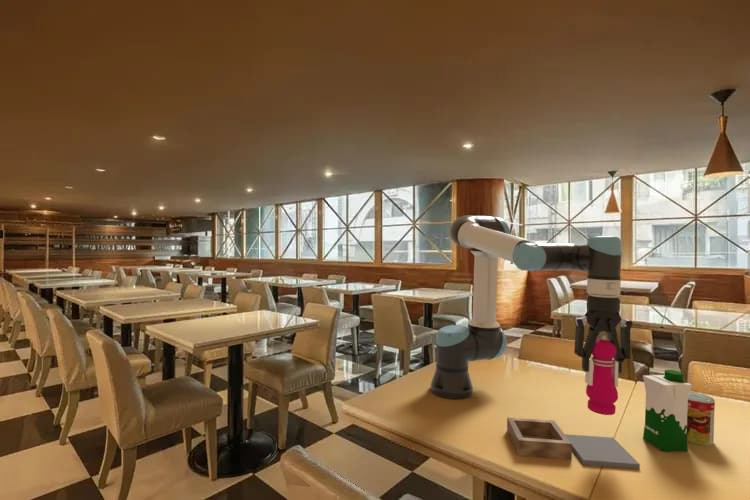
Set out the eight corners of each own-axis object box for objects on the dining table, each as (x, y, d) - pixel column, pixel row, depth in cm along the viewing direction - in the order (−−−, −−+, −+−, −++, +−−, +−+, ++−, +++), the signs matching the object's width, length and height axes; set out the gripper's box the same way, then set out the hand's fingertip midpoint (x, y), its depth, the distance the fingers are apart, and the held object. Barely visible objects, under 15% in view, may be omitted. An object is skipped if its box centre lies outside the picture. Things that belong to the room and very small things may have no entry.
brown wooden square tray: (518, 455, 99) (518, 440, 99) (506, 431, 112) (507, 417, 112) (571, 459, 98) (572, 443, 97) (553, 434, 110) (554, 420, 110)
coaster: (583, 464, 95) (583, 459, 95) (563, 438, 108) (563, 434, 108) (639, 469, 94) (639, 464, 94) (612, 441, 107) (613, 437, 107)
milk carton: (694, 452, 102) (696, 377, 101) (662, 453, 101) (664, 378, 101) (666, 436, 110) (668, 366, 110) (636, 437, 110) (638, 367, 109)
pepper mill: (622, 417, 96) (624, 338, 96) (591, 414, 98) (593, 336, 98) (611, 405, 104) (613, 331, 103) (581, 403, 105) (583, 329, 105)
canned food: (675, 429, 115) (676, 389, 115) (709, 436, 111) (711, 394, 111) (679, 440, 108) (681, 398, 108) (716, 448, 104) (718, 404, 104)
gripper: (571, 296, 98) (569, 387, 98) (650, 298, 96) (647, 391, 96) (560, 292, 105) (558, 377, 105) (633, 294, 103) (631, 381, 103)
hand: (601, 384), depth 101 cm, fingers closed on pepper mill, 5 cm apart
